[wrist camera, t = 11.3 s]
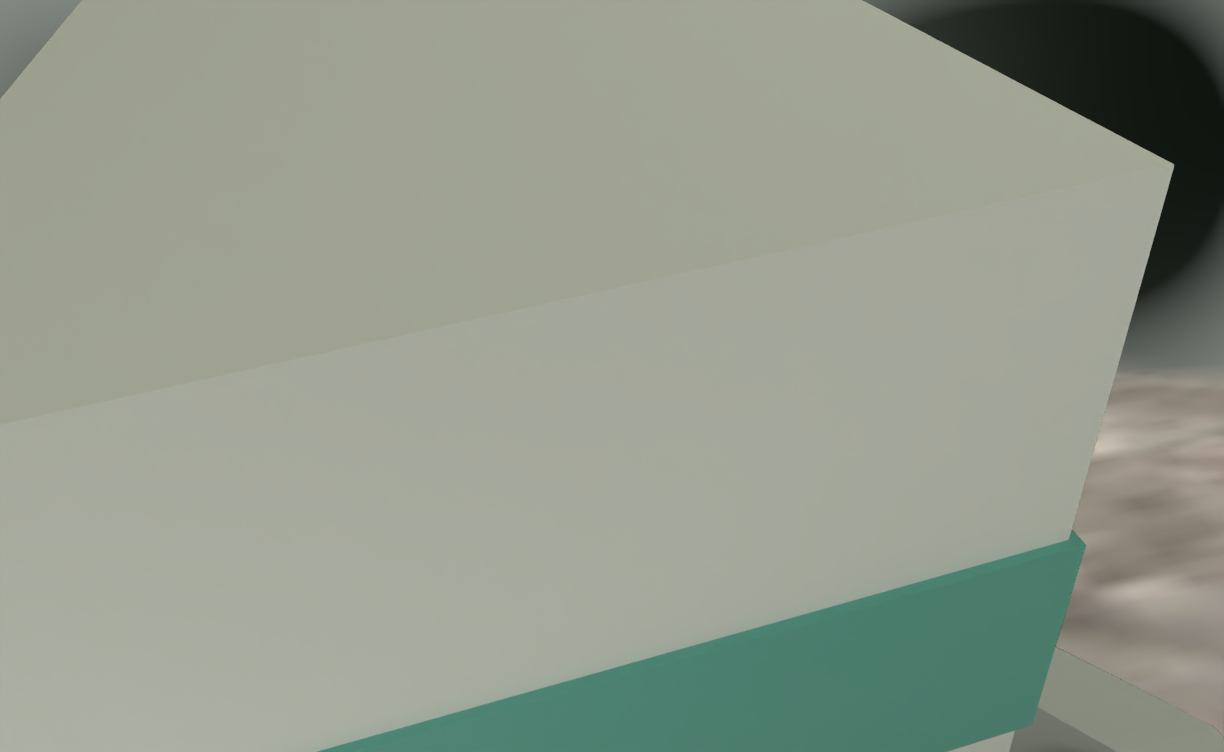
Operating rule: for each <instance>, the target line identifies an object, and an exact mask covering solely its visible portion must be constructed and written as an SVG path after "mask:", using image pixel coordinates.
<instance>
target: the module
mask: <svg viewBox="0 0 1224 752" xmlns="http://www.w3.org/2000/svg"><path fill="white" fill-rule="evenodd" d="M1173 168H1174V164H1172V163H1170V162H1168V161H1166V160H1164V159H1162V158H1160V157H1159V156H1157V155H1155V154H1153V153H1151V152H1149V151H1147V150H1145V149H1143V148H1141V147H1139V146H1138V145H1136V144H1134V143H1132V142H1130V141H1128V140H1126V139H1124V138H1122V137H1121V136H1119V135H1117V134H1115V133H1113V132H1111V131H1109V130H1107V129H1105V128H1104V127H1101V126H1100V125H1098V124H1096V123H1094V122H1092V121H1090V120H1088V119H1086V118H1085V117H1083V116H1081V115H1079V114H1077V113H1075V112H1073V111H1071V110H1069V109H1067V108H1065V107H1064V106H1062V105H1060V104H1058V103H1056V102H1054V101H1052V100H1050V99H1048V98H1046V97H1045V96H1043V95H1041V94H1039V93H1037V92H1035V91H1033V90H1031V89H1029V88H1028V87H1026V86H1024V85H1022V84H1020V83H1018V82H1016V81H1014V80H1012V79H1010V78H1009V77H1007V76H1005V75H1003V74H1001V73H999V72H997V71H995V70H993V69H991V68H989V67H988V66H986V65H984V64H982V63H980V62H978V61H976V60H974V59H973V58H971V57H969V56H967V55H965V54H963V53H961V52H959V51H957V50H955V49H953V48H952V47H950V46H948V45H946V44H944V43H942V42H940V41H938V40H936V39H934V38H933V37H931V36H929V35H927V34H925V33H923V32H921V31H919V30H917V29H916V28H914V27H912V26H910V25H908V24H906V23H904V22H902V21H900V20H898V19H896V18H895V17H893V16H891V15H889V14H887V13H885V12H883V11H881V10H879V9H878V8H876V7H874V6H872V5H870V4H868V3H866V2H864V1H862V0H82V1H81V2H80V3H79V5H78V6H77V7H76V8H75V9H74V11H73V12H72V13H71V14H70V15H69V17H68V18H67V19H66V20H65V21H64V23H63V24H62V25H61V27H59V29H58V30H57V31H56V32H55V34H54V35H53V36H52V37H51V39H50V40H49V41H48V42H47V43H46V44H45V46H44V47H43V48H42V49H41V51H40V52H39V53H38V54H37V55H36V57H35V58H34V59H33V60H32V61H31V63H30V64H29V65H28V66H27V67H26V69H25V70H24V71H23V72H22V74H21V75H20V76H19V77H18V78H17V79H16V81H15V82H14V83H13V84H12V86H11V87H10V88H9V89H8V90H7V92H6V93H5V94H4V95H3V96H2V98H1V99H0V752H1009V750H1010V747H1011V743H1012V739H1013V736H1014V732H1015V730H1018V729H1022V728H1025V727H1028V726H1031V725H1032V724H1033V720H1034V717H1035V714H1036V710H1037V707H1038V704H1039V700H1040V697H1041V694H1042V690H1043V687H1044V684H1045V680H1046V677H1047V674H1048V670H1049V667H1050V663H1051V660H1052V657H1053V653H1054V650H1055V647H1056V643H1057V640H1058V637H1059V633H1060V630H1061V627H1062V623H1063V620H1064V617H1065V613H1066V610H1067V607H1068V603H1069V600H1070V597H1071V593H1072V590H1073V587H1074V583H1075V580H1076V577H1077V573H1078V570H1079V566H1080V563H1081V560H1082V556H1083V553H1084V550H1085V546H1086V544H1085V543H1084V542H1083V541H1082V540H1081V539H1080V538H1079V537H1078V536H1077V535H1076V533H1075V532H1074V531H1073V530H1072V526H1073V523H1074V519H1075V516H1076V512H1077V509H1078V505H1079V502H1080V498H1081V494H1082V491H1083V487H1084V484H1085V480H1086V477H1087V473H1088V470H1089V466H1090V463H1091V459H1092V455H1093V452H1094V448H1095V445H1096V441H1097V438H1098V434H1099V431H1100V427H1101V423H1102V420H1103V416H1104V413H1105V409H1106V406H1107V402H1108V399H1109V395H1110V391H1111V388H1112V384H1113V381H1114V377H1115V374H1116V370H1117V367H1118V363H1119V359H1120V356H1121V352H1122V349H1123V345H1124V342H1125V338H1126V335H1127V331H1128V327H1129V324H1130V320H1131V317H1132V313H1133V310H1134V306H1135V303H1136V299H1137V295H1138V292H1139V288H1140V285H1141V281H1142V278H1143V274H1144V271H1145V267H1146V263H1147V260H1148V257H1149V253H1150V249H1151V246H1152V242H1153V239H1154V235H1155V231H1156V228H1157V224H1158V221H1159V217H1160V214H1161V210H1162V207H1163V203H1164V200H1165V196H1166V193H1167V189H1168V185H1169V182H1170V178H1171V175H1172V171H1173Z"/></svg>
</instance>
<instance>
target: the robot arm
mask: <svg viewBox="0 0 1224 752" xmlns="http://www.w3.org/2000/svg"><path fill="white" fill-rule="evenodd" d="M1009 752H1224V737H1223V736H1222V735H1221V734H1220V733H1219V731H1218V730H1217V729H1216V728H1215V727H1214V726H1212V725H1210V724H1208V723H1206V722H1204V721H1202V720H1200V719H1198V718H1196V717H1194V716H1192V715H1190V714H1188V713H1186V712H1184V711H1182V710H1180V709H1178V708H1176V707H1174V706H1172V705H1170V704H1168V703H1166V702H1164V701H1162V700H1160V699H1158V698H1156V697H1154V696H1152V695H1150V694H1148V693H1146V692H1144V691H1142V690H1141V689H1139V688H1137V687H1135V686H1133V685H1131V684H1129V683H1127V682H1125V681H1123V680H1121V679H1119V678H1117V677H1115V676H1113V675H1111V674H1109V673H1107V672H1105V671H1103V670H1101V669H1099V668H1097V667H1095V666H1093V665H1091V664H1089V663H1087V662H1085V661H1083V660H1081V659H1079V658H1077V657H1075V656H1073V655H1071V654H1069V653H1067V652H1065V651H1063V650H1061V649H1059V648H1057V647H1055V650H1054V653H1053V657H1052V660H1051V663H1050V667H1049V670H1048V674H1047V677H1046V680H1045V684H1044V687H1043V690H1042V694H1041V697H1040V700H1039V704H1038V707H1037V710H1036V714H1035V717H1034V720H1033V724H1032V725H1031V726H1028V727H1025V728H1022V729H1018V730H1015V732H1014V736H1013V739H1012V743H1011V747H1010V750H1009Z"/></svg>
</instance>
